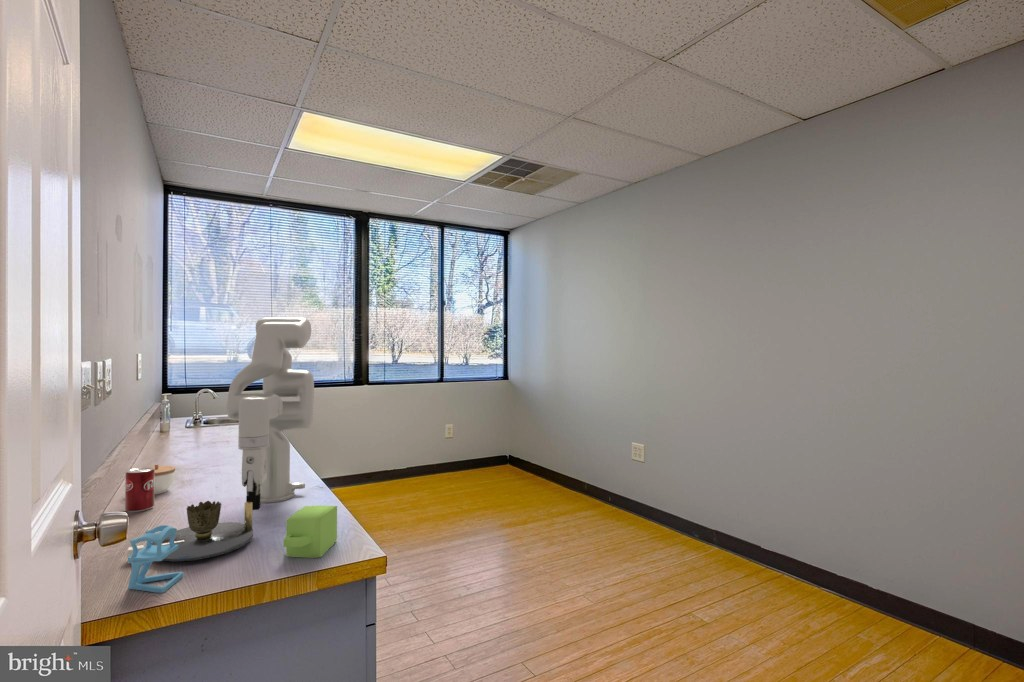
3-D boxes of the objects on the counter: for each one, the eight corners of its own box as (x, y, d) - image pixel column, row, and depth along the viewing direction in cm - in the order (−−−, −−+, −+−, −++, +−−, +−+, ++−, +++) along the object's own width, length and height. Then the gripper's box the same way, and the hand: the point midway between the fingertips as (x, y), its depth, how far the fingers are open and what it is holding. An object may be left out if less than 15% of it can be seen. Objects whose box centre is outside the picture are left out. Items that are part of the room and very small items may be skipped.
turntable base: (232, 533, 136) (232, 521, 136) (238, 550, 125) (238, 538, 125) (129, 551, 124) (129, 539, 124) (126, 573, 112) (126, 559, 112)
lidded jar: (137, 498, 166) (137, 470, 166) (135, 491, 174) (136, 463, 174) (176, 492, 173) (177, 465, 173) (173, 486, 181) (173, 459, 181)
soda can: (122, 514, 151) (123, 473, 151) (127, 507, 157) (128, 468, 157) (152, 510, 154) (152, 471, 154) (156, 504, 160) (156, 466, 160)
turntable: (246, 521, 142) (246, 491, 142) (259, 547, 124) (259, 513, 124) (150, 538, 129) (150, 505, 129) (148, 569, 111) (148, 532, 111)
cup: (195, 545, 122) (196, 511, 122) (180, 539, 126) (180, 506, 126) (227, 535, 128) (227, 503, 128) (211, 529, 132) (211, 498, 132)
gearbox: (306, 534, 136) (307, 498, 136) (343, 534, 135) (343, 499, 136) (272, 563, 118) (273, 522, 118) (314, 564, 117) (315, 523, 118)
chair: (143, 577, 110) (144, 521, 110) (184, 575, 111) (184, 520, 111) (119, 594, 103) (120, 535, 103) (163, 593, 103) (164, 534, 103)
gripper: (264, 446, 133) (263, 516, 133) (273, 436, 147) (272, 500, 147) (232, 448, 131) (231, 519, 130) (244, 437, 145) (243, 502, 145)
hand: (253, 509), depth 139 cm, fingers closed
